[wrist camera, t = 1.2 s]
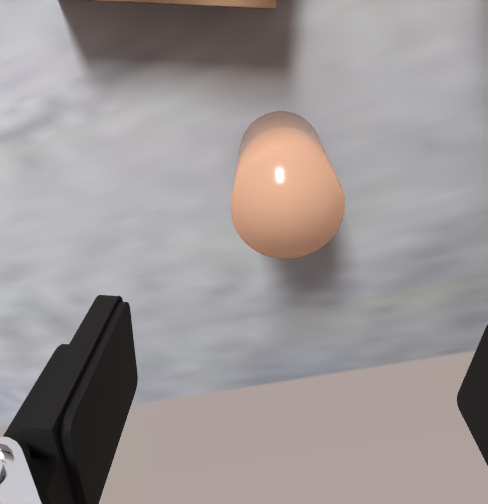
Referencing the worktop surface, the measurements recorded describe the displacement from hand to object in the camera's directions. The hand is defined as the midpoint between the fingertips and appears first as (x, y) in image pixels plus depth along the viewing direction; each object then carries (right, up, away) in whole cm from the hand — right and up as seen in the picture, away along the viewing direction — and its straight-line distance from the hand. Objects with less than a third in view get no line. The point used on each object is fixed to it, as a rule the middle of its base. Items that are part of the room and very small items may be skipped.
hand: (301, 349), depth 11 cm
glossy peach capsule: (+1, +9, +16) cm, 18 cm away
